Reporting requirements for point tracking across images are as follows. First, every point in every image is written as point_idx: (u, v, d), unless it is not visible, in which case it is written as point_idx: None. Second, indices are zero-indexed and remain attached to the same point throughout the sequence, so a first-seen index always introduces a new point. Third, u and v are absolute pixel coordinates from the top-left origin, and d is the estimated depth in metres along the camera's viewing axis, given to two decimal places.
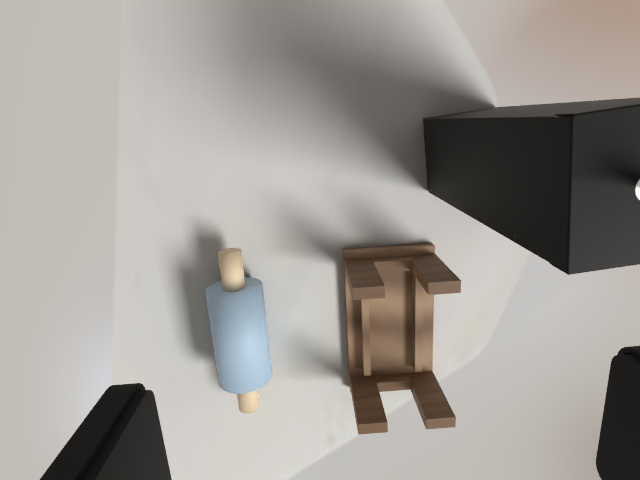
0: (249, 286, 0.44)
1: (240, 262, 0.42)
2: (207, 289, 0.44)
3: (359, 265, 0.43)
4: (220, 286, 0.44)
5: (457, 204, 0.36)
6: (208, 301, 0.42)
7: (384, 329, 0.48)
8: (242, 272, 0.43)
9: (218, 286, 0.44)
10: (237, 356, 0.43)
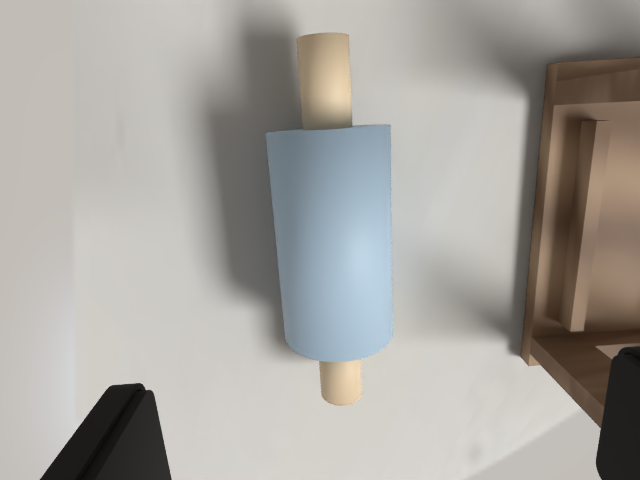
0: (361, 126, 0.20)
1: (348, 61, 0.19)
2: (269, 132, 0.20)
3: None
4: (296, 130, 0.20)
5: None
6: (275, 147, 0.18)
7: (613, 239, 0.24)
8: (350, 88, 0.19)
9: (292, 130, 0.20)
10: (336, 276, 0.19)
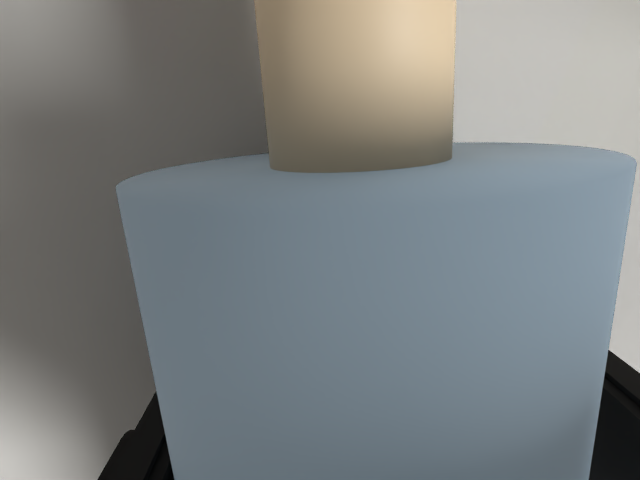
0: (487, 154, 0.05)
1: None
2: (163, 170, 0.06)
3: None
4: (259, 162, 0.06)
5: None
6: (128, 247, 0.04)
7: None
8: (454, 1, 0.05)
9: (245, 163, 0.06)
10: None
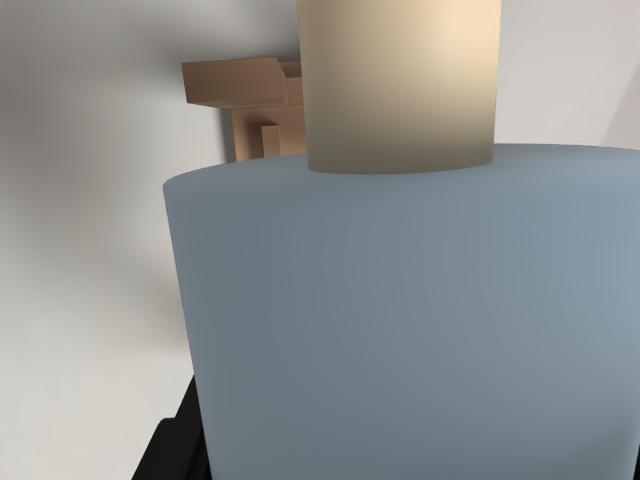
0: (519, 154, 0.06)
1: None
2: (188, 176, 0.05)
3: None
4: (285, 165, 0.06)
5: None
6: (189, 260, 0.04)
7: None
8: None
9: (269, 165, 0.06)
10: None
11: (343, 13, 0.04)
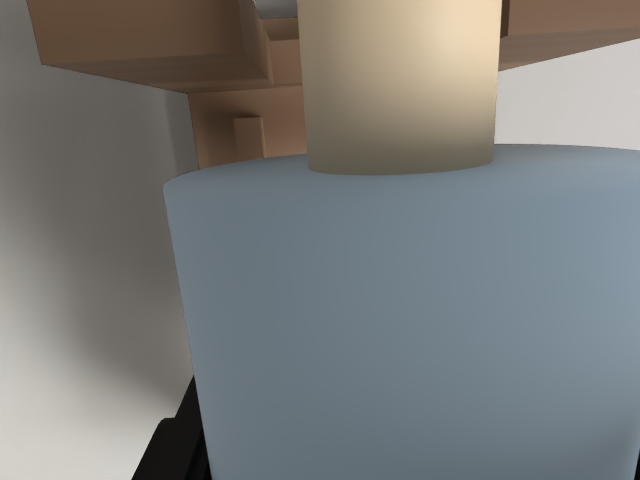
0: (520, 155, 0.06)
1: None
2: (188, 176, 0.05)
3: None
4: (285, 165, 0.06)
5: None
6: (189, 261, 0.04)
7: None
8: None
9: (270, 167, 0.06)
10: None
11: (343, 14, 0.04)
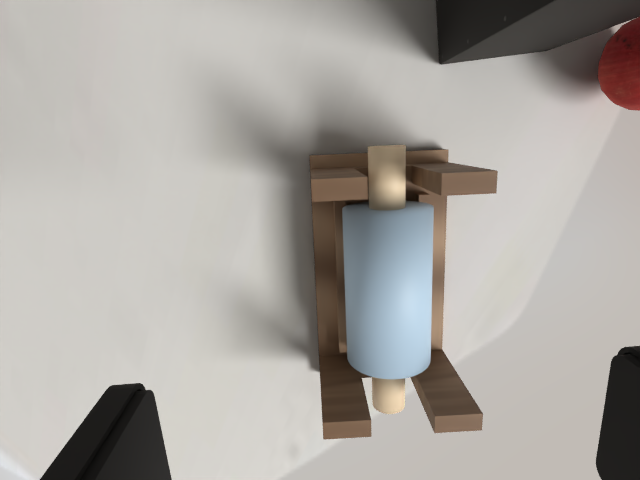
0: (411, 206, 0.27)
1: (405, 162, 0.26)
2: (345, 209, 0.27)
3: (331, 170, 0.27)
4: (363, 207, 0.28)
5: (494, 25, 0.20)
6: (354, 223, 0.26)
7: None
8: (405, 180, 0.27)
9: (359, 207, 0.28)
10: (397, 316, 0.26)
11: (378, 184, 0.26)
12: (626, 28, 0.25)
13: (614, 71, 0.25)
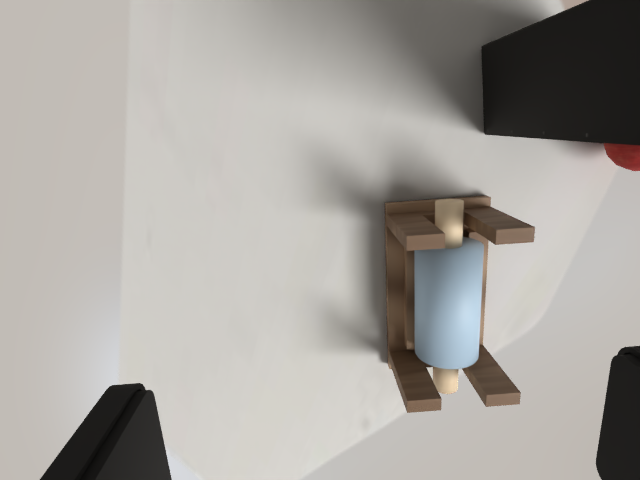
0: (466, 243, 0.37)
1: None
2: None
3: (406, 217, 0.37)
4: None
5: (534, 132, 0.30)
6: (427, 259, 0.36)
7: None
8: (462, 226, 0.36)
9: None
10: (458, 324, 0.36)
11: (444, 230, 0.36)
12: None
13: (616, 145, 0.35)
